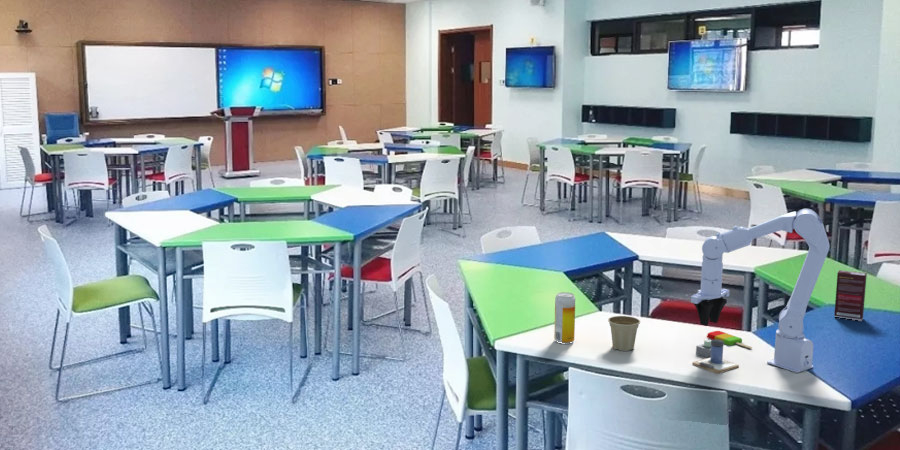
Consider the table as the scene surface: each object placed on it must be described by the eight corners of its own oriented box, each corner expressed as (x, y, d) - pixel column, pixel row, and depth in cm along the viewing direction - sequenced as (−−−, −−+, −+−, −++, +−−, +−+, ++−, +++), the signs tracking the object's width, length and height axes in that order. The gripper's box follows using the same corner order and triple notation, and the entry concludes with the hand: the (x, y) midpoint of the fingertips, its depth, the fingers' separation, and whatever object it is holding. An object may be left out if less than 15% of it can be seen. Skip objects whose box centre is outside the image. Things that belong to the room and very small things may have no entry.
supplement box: (863, 318, 260) (867, 272, 257) (861, 322, 256) (866, 275, 253) (834, 314, 264) (838, 269, 261) (833, 317, 260) (837, 272, 257)
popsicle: (717, 335, 244) (718, 329, 243) (757, 349, 231) (757, 343, 230) (705, 338, 241) (705, 332, 241) (745, 352, 228) (745, 346, 228)
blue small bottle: (725, 362, 217) (726, 341, 215) (717, 364, 215) (718, 344, 214) (715, 358, 219) (716, 338, 218) (707, 361, 217) (708, 340, 216)
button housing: (718, 355, 225) (718, 347, 224) (708, 357, 222) (708, 350, 222) (705, 350, 228) (706, 343, 228) (695, 353, 226) (696, 345, 226)
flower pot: (600, 345, 234) (601, 317, 232) (626, 341, 237) (627, 314, 236) (619, 354, 225) (620, 326, 224) (645, 350, 229) (646, 322, 227)
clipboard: (738, 367, 215) (738, 363, 215) (717, 373, 210) (718, 369, 210) (713, 358, 222) (713, 354, 222) (692, 364, 217) (692, 360, 217)
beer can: (578, 341, 237) (579, 294, 234) (566, 346, 233) (568, 298, 230) (561, 337, 241) (562, 290, 238) (550, 341, 237) (551, 294, 234)
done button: (712, 348, 225) (712, 341, 224) (707, 349, 224) (708, 342, 223) (706, 346, 226) (707, 339, 226) (702, 347, 225) (702, 340, 225)
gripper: (716, 272, 228) (713, 316, 231) (683, 278, 221) (681, 324, 223) (736, 276, 223) (733, 321, 225) (703, 284, 215) (700, 330, 217)
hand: (708, 323), depth 224 cm, fingers open, 4 cm apart
